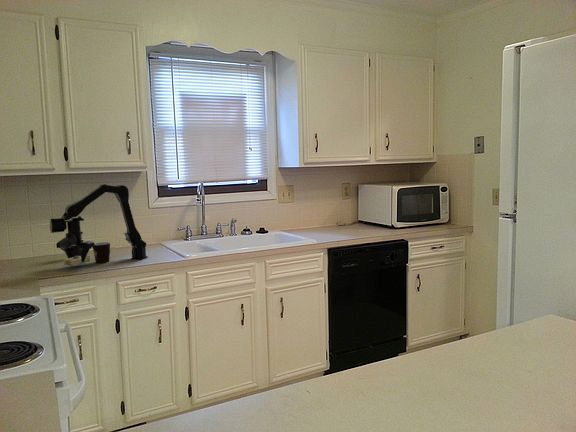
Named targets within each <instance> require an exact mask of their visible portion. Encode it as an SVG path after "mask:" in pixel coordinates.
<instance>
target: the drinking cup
mask: <svg viewBox="0 0 576 432" xmlns="http://www.w3.org/2000/svg"><path fill="white" fill-rule="evenodd" d="M82 236H83V234H81V240H83V239H82ZM73 245H74V244H73ZM70 247H73V257H74V256H81V252H80V251H79V250H78V249H81V248H80V247H76V246H70Z"/></svg>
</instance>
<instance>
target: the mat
mask: <svg viewBox="0 0 576 432" xmlns="http://www.w3.org/2000/svg"><path fill="white" fill-rule="evenodd" d="M99 265H100V263H91V262H90V263H89V262H86V263H83V264H80V265H76V266H70V265H64V266H63V267H58V268H56V269H54V271H66V272H79V271H82V270H85V269H89V268H92V267H94V266H95V267H96V266H99Z"/></svg>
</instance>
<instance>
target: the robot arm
mask: <svg viewBox="0 0 576 432" xmlns="http://www.w3.org/2000/svg"><path fill="white" fill-rule="evenodd" d="M105 193H109V194H110V193H111V194H114V196H115V198H116V199H117V201H118V203H119V205H120V209H121V212H122V216H123V220H124V223H125V226H126V232H123V235H124V236H125V241H127V243H128V244H130V245H131V258H130V260H139V261H140V260H144V259H147V258H149V256H147V252H146V251H147V248H146V247H147V242H146V241H144V240H143V238H142V237H141V234H140V232H139V230H138V229H137V228H136V224H135V221H134V217H133V213H132V208H131V206H130V202H129V198H130V194H129V187H127V186H126V185H124V184H122V185H121V184H117V185H108V184H104V183H102V184H100V185H99V186H98V187H96V188H95V189H93V190H92V191H90V192H89V193H88V194H87V195H85V196H84V197H82V198H81V199H79V200H77V201H74V202H72V203H71V204H68V205H66V206H65V208H64V213H63V214H62V216H61V217H58V218H55V217H54V218H49V220H50V221H49V230H50V233H51V234H54V233H63V232H65V231H66V230H67V232H66V233H65V236H64V238H62V239H61V240H59V241H57V242H56V244H55V245H56V249H60V250H62V251H63V252H64V253H65V255H66V257H67V259H69V258H73V247H70V246H76V247H80V248H81V249H78V250H79V251H80V252H81V260H82V262H84V261H85V258H86V256H88V253H89V251H90V249H93V247H95V243H96V242H95V241H93V240H87V241H84V240H83V239H82V240H81V234H82V235H83V234H84V233H83V231H81V222H82V221H85V219H84V218H83V217H82V216H81V215H80V214H81V213H82V212H83V211H85V208H87V206H89V205H90V204H91V203H93V202H94V201H96V200H97V199H98V198H99V197H102V195H104V194H105ZM73 244H74V245H73Z"/></svg>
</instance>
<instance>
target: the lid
mask: <svg viewBox="0 0 576 432" xmlns="http://www.w3.org/2000/svg"><path fill="white" fill-rule="evenodd" d="M90 261H91V258H90V256H88V255H87V256H86V258H85V261H84V262H82V260H81V256H74V257H73V258H69V259H68V258H66V259H63V261H62V262H63V263H62V264H63V266H69V265H70V266H76V265H80V264H83V263H89V262H90Z"/></svg>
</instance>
